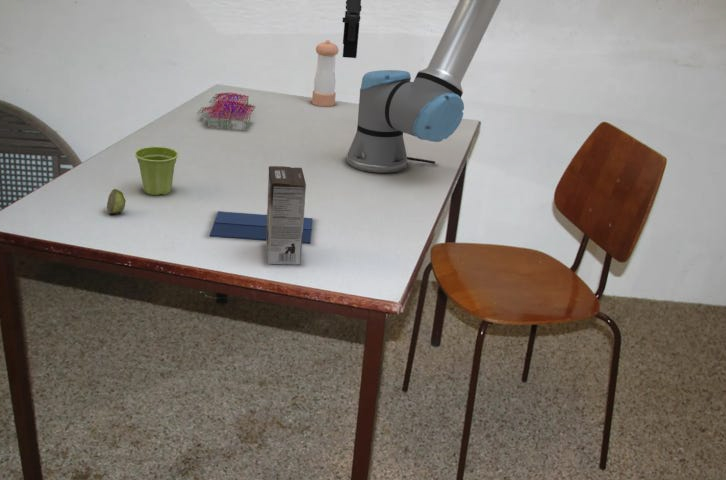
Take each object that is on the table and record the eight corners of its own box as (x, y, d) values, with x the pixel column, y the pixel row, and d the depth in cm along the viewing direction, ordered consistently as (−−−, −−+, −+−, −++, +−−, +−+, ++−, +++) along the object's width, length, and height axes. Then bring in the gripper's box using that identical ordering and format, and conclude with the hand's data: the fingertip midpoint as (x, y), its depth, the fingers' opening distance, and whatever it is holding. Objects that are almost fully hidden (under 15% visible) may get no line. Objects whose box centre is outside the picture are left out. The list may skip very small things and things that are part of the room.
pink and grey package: (213, 100, 247) (213, 83, 244) (261, 105, 246) (262, 88, 243) (191, 127, 221) (190, 109, 218) (244, 132, 220) (245, 113, 217)
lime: (116, 218, 163) (115, 195, 161) (99, 212, 165) (97, 189, 163) (131, 212, 166) (130, 189, 164) (114, 206, 168) (113, 184, 166)
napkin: (312, 220, 168) (312, 218, 168) (310, 243, 158) (310, 241, 158) (218, 213, 169) (218, 211, 168) (209, 236, 158) (209, 233, 158)
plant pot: (186, 187, 181) (185, 150, 176) (166, 201, 173) (165, 162, 168) (149, 180, 183) (148, 144, 179) (128, 194, 175) (126, 155, 171)
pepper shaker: (310, 105, 249) (314, 41, 240) (313, 99, 256) (317, 37, 246) (333, 107, 249) (338, 43, 239) (336, 101, 255) (341, 39, 245)
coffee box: (265, 244, 156) (268, 165, 148) (297, 244, 157) (302, 166, 149) (267, 264, 149) (270, 182, 141) (301, 265, 149) (306, 183, 141)
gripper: (339, -70, 163) (331, 37, 174) (339, -61, 142) (330, 62, 152) (376, -68, 163) (366, 40, 174) (381, -58, 142) (369, 64, 152)
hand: (349, 50), depth 163 cm, fingers open, 13 cm apart
